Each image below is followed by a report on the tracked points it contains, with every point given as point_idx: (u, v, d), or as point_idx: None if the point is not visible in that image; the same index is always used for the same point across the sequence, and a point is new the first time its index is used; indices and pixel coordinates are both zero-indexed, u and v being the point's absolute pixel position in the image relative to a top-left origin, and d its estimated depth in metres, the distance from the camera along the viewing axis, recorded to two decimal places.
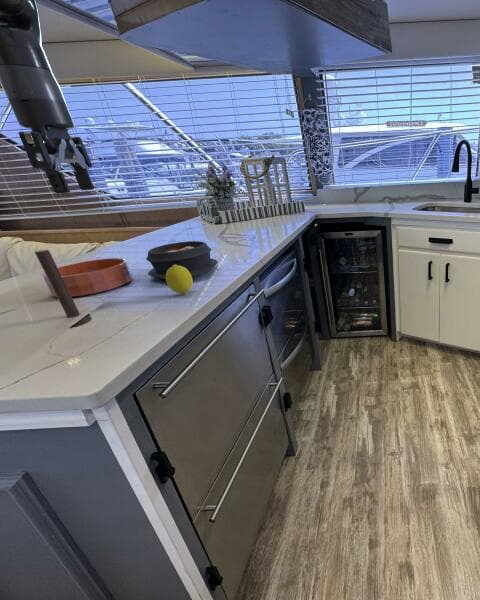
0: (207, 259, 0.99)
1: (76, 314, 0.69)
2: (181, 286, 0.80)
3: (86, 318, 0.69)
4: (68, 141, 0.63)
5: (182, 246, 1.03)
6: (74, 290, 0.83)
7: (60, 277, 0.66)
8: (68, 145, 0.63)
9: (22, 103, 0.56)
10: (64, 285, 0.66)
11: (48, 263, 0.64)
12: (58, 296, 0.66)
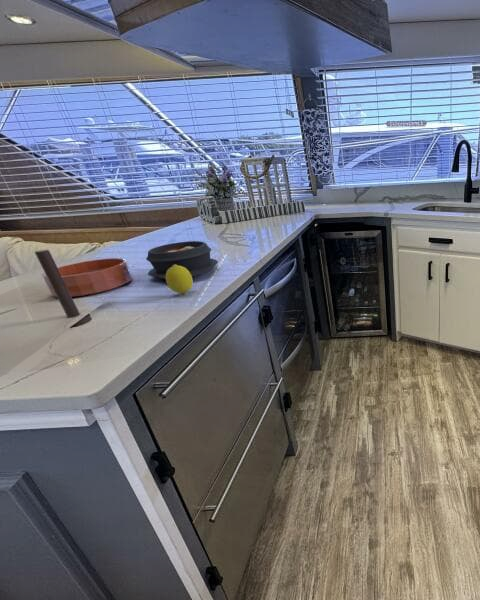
0: (207, 259, 0.99)
1: (76, 314, 0.69)
2: (181, 286, 0.80)
3: (86, 318, 0.69)
4: None
5: (182, 246, 1.03)
6: (74, 290, 0.83)
7: (60, 277, 0.66)
8: None
9: None
10: (64, 285, 0.66)
11: (48, 263, 0.64)
12: (58, 296, 0.66)
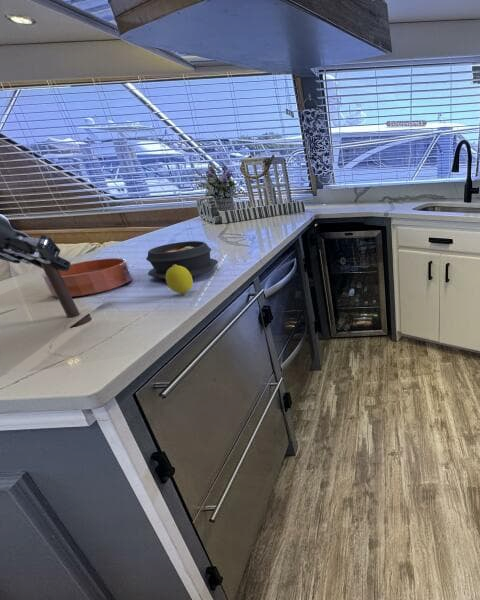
0: (207, 258, 0.99)
1: (76, 314, 0.69)
2: (181, 286, 0.80)
3: (86, 318, 0.69)
4: None
5: (182, 246, 1.03)
6: (74, 290, 0.83)
7: (60, 277, 0.66)
8: None
9: None
10: (64, 285, 0.66)
11: None
12: (58, 296, 0.66)
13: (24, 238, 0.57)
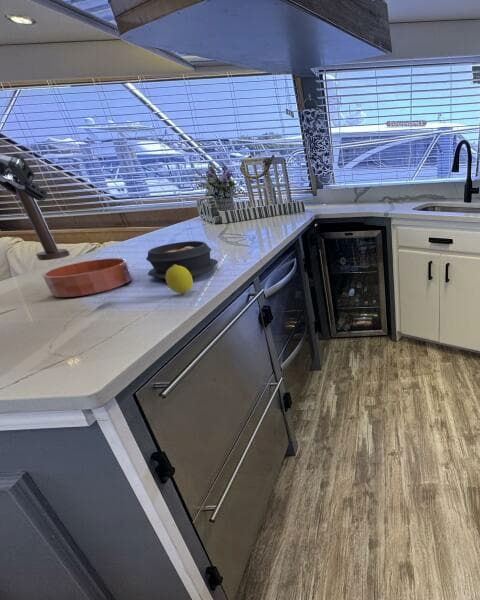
0: (207, 259, 0.99)
1: (53, 247, 0.67)
2: (181, 286, 0.80)
3: (64, 252, 0.67)
4: None
5: (182, 246, 1.03)
6: (74, 290, 0.83)
7: (36, 206, 0.64)
8: None
9: None
10: (40, 215, 0.65)
11: None
12: (34, 226, 0.64)
13: None
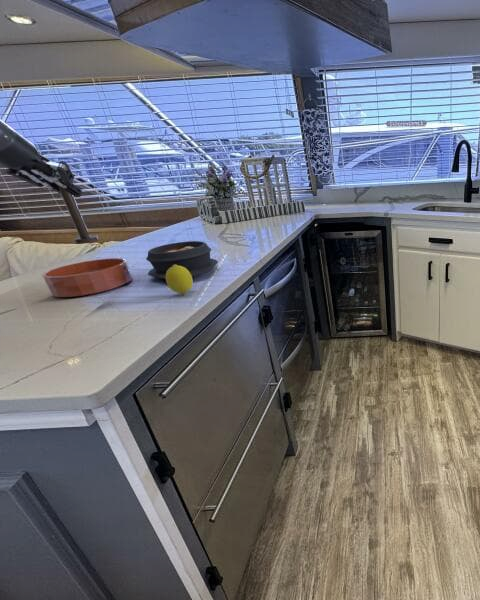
0: (207, 259, 0.99)
1: (86, 234, 0.85)
2: (181, 286, 0.80)
3: (94, 238, 0.85)
4: None
5: (182, 246, 1.03)
6: (74, 290, 0.83)
7: (74, 201, 0.82)
8: None
9: None
10: (77, 208, 0.82)
11: None
12: (72, 217, 0.82)
13: (47, 162, 0.73)
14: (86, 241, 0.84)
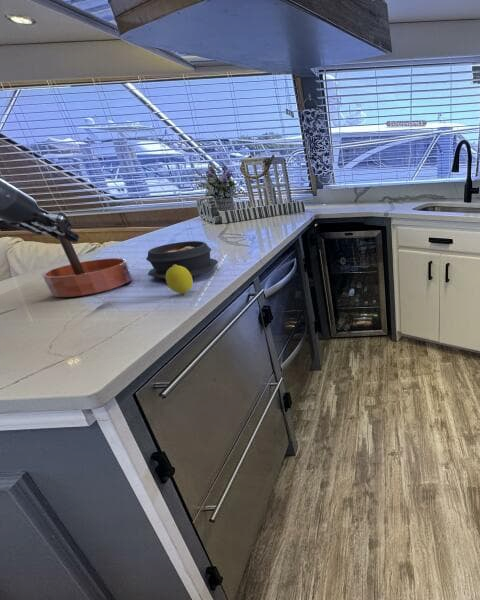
0: (207, 259, 0.99)
1: None
2: (181, 286, 0.80)
3: None
4: None
5: (182, 246, 1.03)
6: (74, 290, 0.83)
7: (71, 246, 0.86)
8: None
9: None
10: (74, 253, 0.87)
11: None
12: (70, 261, 0.87)
13: (46, 214, 0.78)
14: None
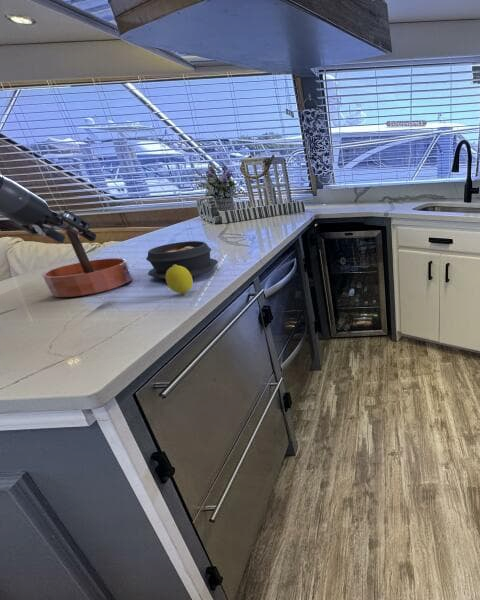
0: (207, 258, 0.99)
1: None
2: (181, 286, 0.80)
3: None
4: None
5: (182, 246, 1.03)
6: (74, 290, 0.83)
7: (83, 249, 0.87)
8: None
9: None
10: (85, 255, 0.88)
11: (74, 238, 0.85)
12: (81, 263, 0.87)
13: None
14: None
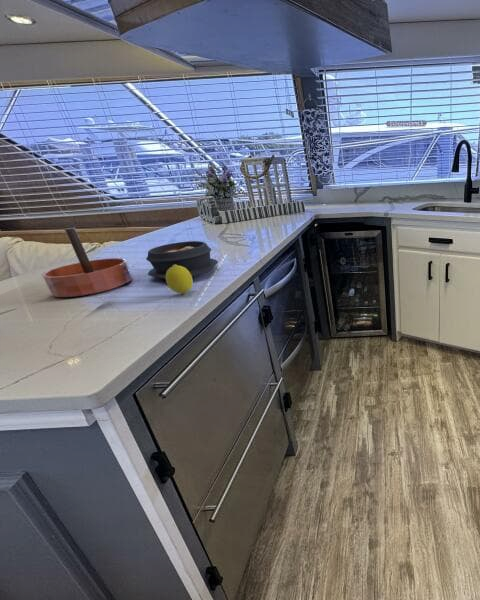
0: (207, 259, 0.99)
1: None
2: (181, 286, 0.80)
3: None
4: None
5: (182, 246, 1.03)
6: (74, 290, 0.83)
7: (83, 249, 0.87)
8: None
9: None
10: (85, 255, 0.88)
11: (74, 238, 0.85)
12: (81, 263, 0.87)
13: None
14: None
